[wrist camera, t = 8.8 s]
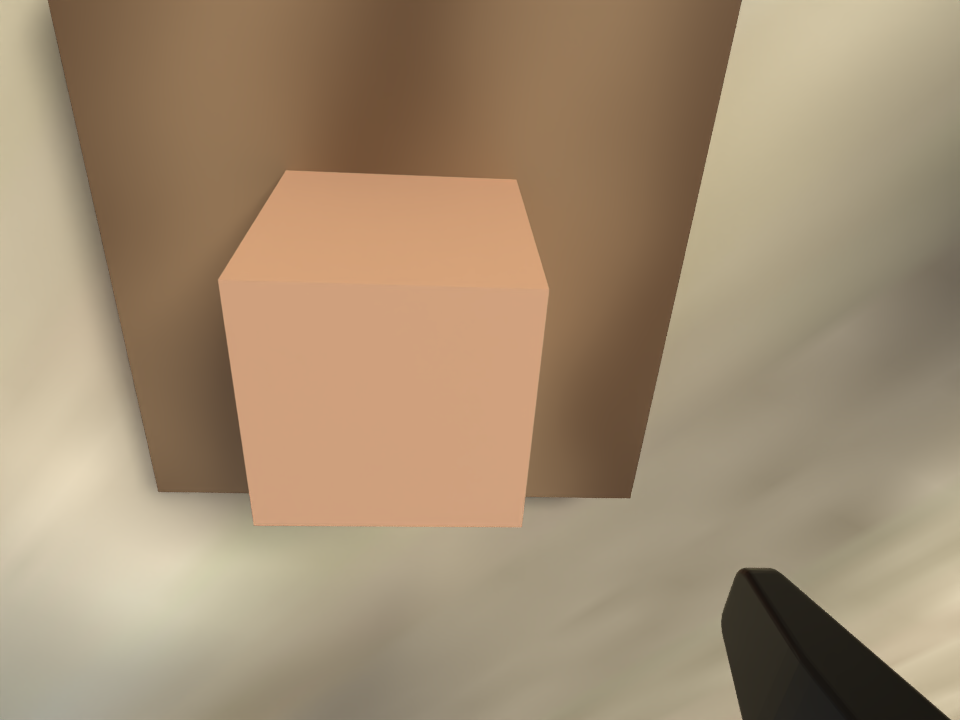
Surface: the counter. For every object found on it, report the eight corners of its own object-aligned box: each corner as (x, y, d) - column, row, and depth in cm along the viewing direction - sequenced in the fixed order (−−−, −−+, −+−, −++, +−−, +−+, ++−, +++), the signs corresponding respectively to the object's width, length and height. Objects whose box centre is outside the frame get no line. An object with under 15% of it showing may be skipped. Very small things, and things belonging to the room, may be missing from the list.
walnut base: (709, -25, 14) (745, -18, 13) (614, 450, 20) (630, 498, 19) (84, -68, 13) (32, -67, 12) (182, 442, 20) (158, 491, 18)
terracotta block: (516, 179, 14) (549, 290, 10) (500, 371, 17) (521, 527, 12) (286, 170, 14) (217, 279, 10) (302, 367, 16) (254, 525, 12)
